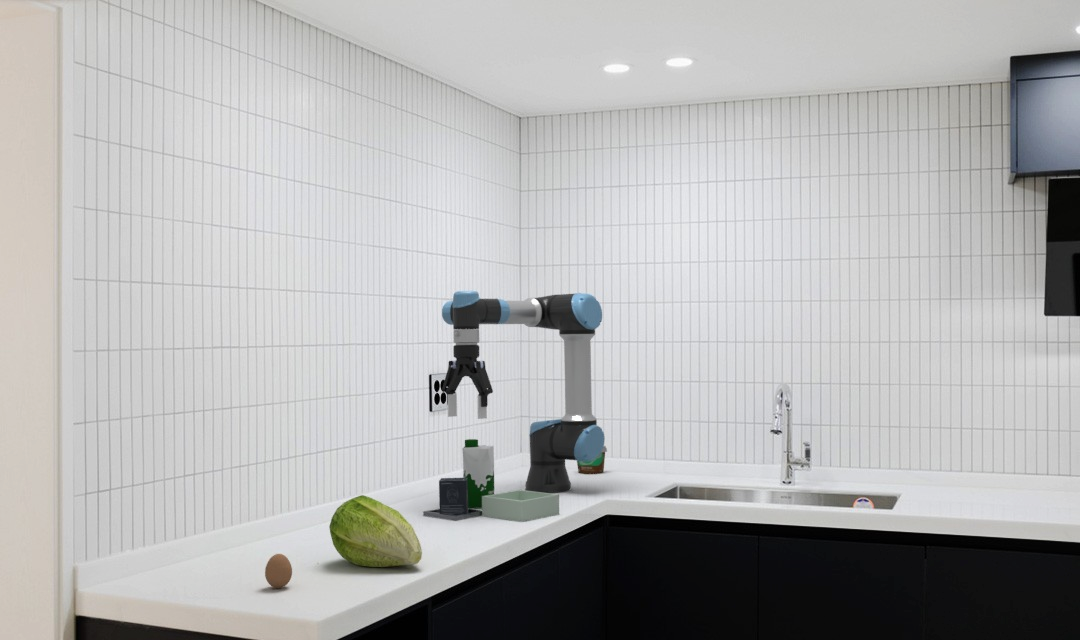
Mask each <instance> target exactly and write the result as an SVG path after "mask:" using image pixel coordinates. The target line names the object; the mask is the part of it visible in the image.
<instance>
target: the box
mask: <svg viewBox="0 0 1080 640" xmlns="http://www.w3.org/2000/svg"><path fill="white" fill-rule="evenodd" d="M438 494H439V495H438V496H439V497H438V498H439V500H438V501H439V503H438V504H439V509H440V513H442V514H449V515H461V514H466V513H468V509H469V508H468V478H463V477H441V478H440V479H439V480H438Z"/></svg>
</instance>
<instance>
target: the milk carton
mask: <svg viewBox="0 0 1080 640" xmlns="http://www.w3.org/2000/svg"><path fill="white" fill-rule="evenodd" d="M461 449H462V450H461V451H462V472H463V473H462V474H463V477H462V478H468V509H482V496H487V495H492V494H495V456H494V454H495V452H494V449H495V448H494V445H485V444H484V445H483V444H482V445H481V444H480V445H479V440H478V439H477V438H475V439H473V438H469V439H465V440H464V446H463V447H462V448H461Z"/></svg>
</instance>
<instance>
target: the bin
mask: <svg viewBox="0 0 1080 640" xmlns="http://www.w3.org/2000/svg"><path fill="white" fill-rule="evenodd" d="M481 510H482V516H481V517H487V518H494V519H500V520H506V519H507V520H508V521H513V520H514V521H515V522H520V521H523V522H527V521H526V520H528V521H532V520H531V519H533V520H537V519H536V518H538V519H542V518H541V517H543V518H547V516H548V517H551V516H556V515H557V516H558V515H560V494H557V493H556V494H555V493H551V492H533V491H527V490H526V489H525V490H524V489H517V490H510V491H505V492H498V493H494V494H492V495H487V496H482V508H481ZM514 521H513V522H514Z"/></svg>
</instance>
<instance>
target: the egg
mask: <svg viewBox="0 0 1080 640" xmlns="http://www.w3.org/2000/svg"><path fill="white" fill-rule="evenodd" d="M292 575H293V567H292V564H291V562H290V560H289V559H288V557H287V556H286V555H284V554H283V553H276V554H273V555H272V556H271V557H270V558H269V560H268V561H267V563H266V565H265V569H264V577H265V579H266V581H267V583H268V584H269V585H270V586H271V587H272V588H274V589H282V588H284V587H286V586H287V585H288V584H289V582H290V581H291V579H292Z"/></svg>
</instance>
